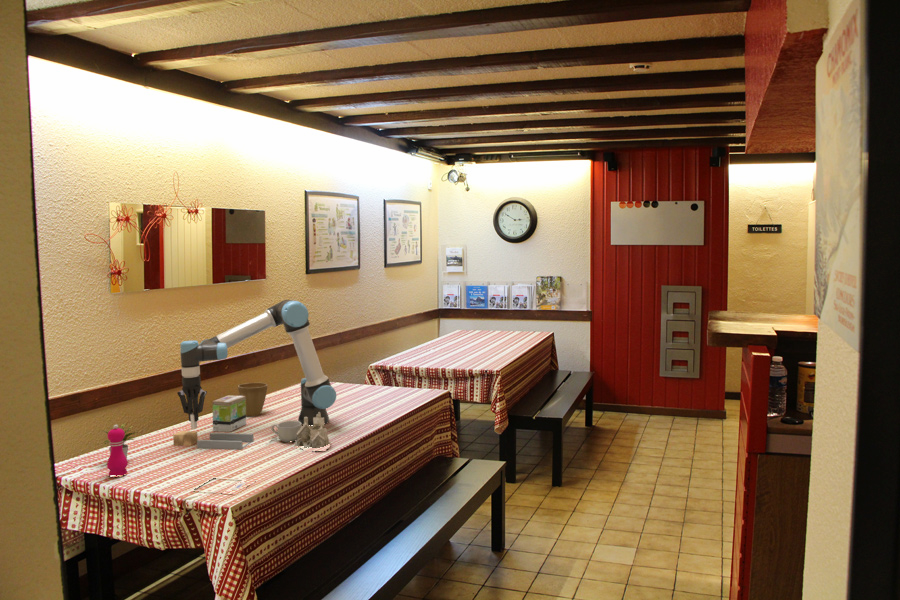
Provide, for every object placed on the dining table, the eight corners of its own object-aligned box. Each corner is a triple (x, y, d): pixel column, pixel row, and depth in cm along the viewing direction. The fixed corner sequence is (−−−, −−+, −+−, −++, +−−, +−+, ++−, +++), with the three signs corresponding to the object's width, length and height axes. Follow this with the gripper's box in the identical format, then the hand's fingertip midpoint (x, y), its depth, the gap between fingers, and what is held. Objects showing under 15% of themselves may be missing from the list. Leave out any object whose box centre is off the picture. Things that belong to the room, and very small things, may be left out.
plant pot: (250, 419, 347) (249, 389, 346) (233, 415, 356) (232, 385, 355) (274, 414, 359) (273, 384, 358) (256, 410, 368) (255, 381, 367)
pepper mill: (112, 472, 266) (109, 422, 264) (131, 472, 266) (129, 421, 265) (104, 478, 259) (101, 427, 257) (123, 478, 259) (121, 426, 258)
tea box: (231, 432, 324) (230, 401, 323) (212, 431, 326) (211, 401, 325) (247, 424, 339) (246, 395, 338) (228, 423, 341) (227, 394, 340)
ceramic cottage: (297, 441, 306) (297, 409, 304) (333, 442, 306) (333, 410, 304) (289, 454, 291) (289, 420, 289) (327, 455, 291) (327, 421, 289)
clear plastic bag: (235, 493, 240) (190, 490, 244) (235, 496, 240) (190, 493, 244) (256, 479, 254) (212, 476, 258) (256, 482, 254) (212, 479, 258)
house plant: (110, 470, 269) (108, 429, 268) (90, 464, 276) (88, 425, 275) (143, 460, 281) (141, 421, 280) (123, 455, 288) (122, 417, 287)
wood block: (197, 431, 304) (180, 431, 304) (190, 435, 298) (173, 434, 299) (197, 444, 304) (180, 444, 305) (190, 448, 298) (173, 448, 299)
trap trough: (253, 443, 304) (253, 433, 304) (241, 452, 291) (240, 441, 291) (211, 442, 307) (211, 432, 306) (197, 450, 294) (196, 440, 293)
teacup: (306, 438, 312) (306, 421, 311) (293, 445, 302) (293, 427, 301) (280, 436, 316) (279, 419, 316) (266, 442, 306) (266, 424, 306)
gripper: (209, 374, 301) (212, 426, 303) (181, 374, 303) (184, 426, 305) (201, 377, 294) (204, 430, 296) (172, 377, 296) (176, 430, 298)
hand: (194, 428), depth 300 cm, fingers closed
